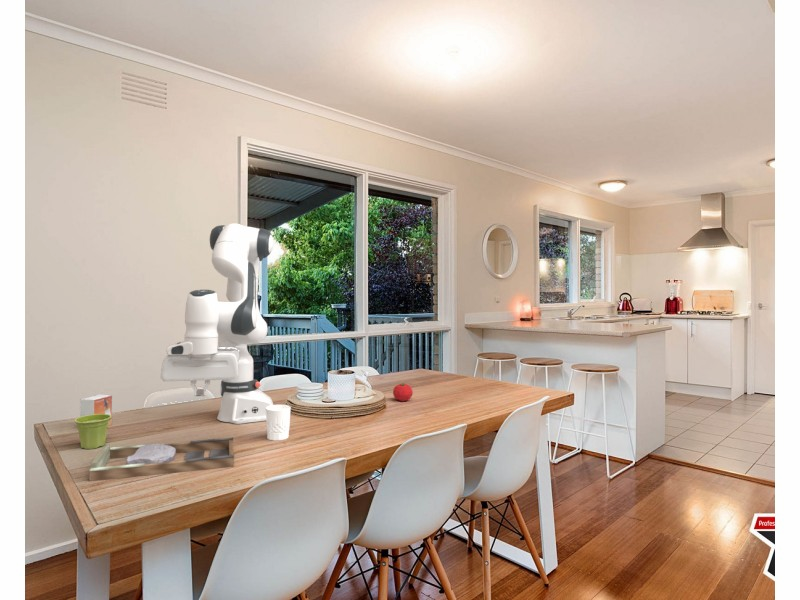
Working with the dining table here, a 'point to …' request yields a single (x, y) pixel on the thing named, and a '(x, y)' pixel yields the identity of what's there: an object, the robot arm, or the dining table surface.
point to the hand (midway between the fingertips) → (200, 395)
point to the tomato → (402, 392)
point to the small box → (96, 406)
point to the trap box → (189, 464)
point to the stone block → (152, 454)
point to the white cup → (278, 422)
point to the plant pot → (92, 430)
